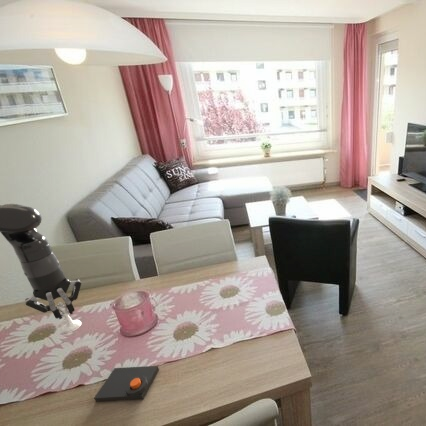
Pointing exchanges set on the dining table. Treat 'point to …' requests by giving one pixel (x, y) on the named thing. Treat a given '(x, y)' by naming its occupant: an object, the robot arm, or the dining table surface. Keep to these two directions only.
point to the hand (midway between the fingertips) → (65, 315)
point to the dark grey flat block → (126, 384)
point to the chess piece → (68, 320)
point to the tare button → (135, 383)
